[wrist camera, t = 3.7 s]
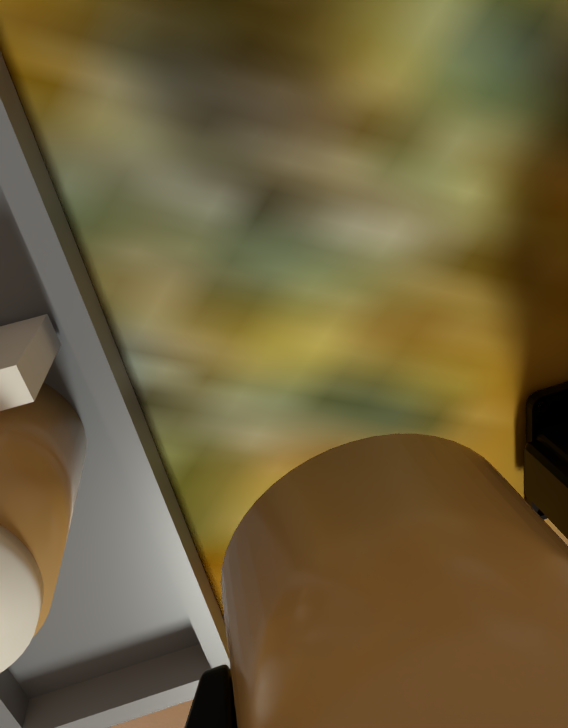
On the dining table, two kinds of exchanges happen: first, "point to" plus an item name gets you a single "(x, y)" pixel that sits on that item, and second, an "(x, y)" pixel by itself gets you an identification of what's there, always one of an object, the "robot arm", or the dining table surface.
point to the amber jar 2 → (396, 595)
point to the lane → (97, 493)
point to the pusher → (25, 359)
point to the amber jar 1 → (35, 511)
